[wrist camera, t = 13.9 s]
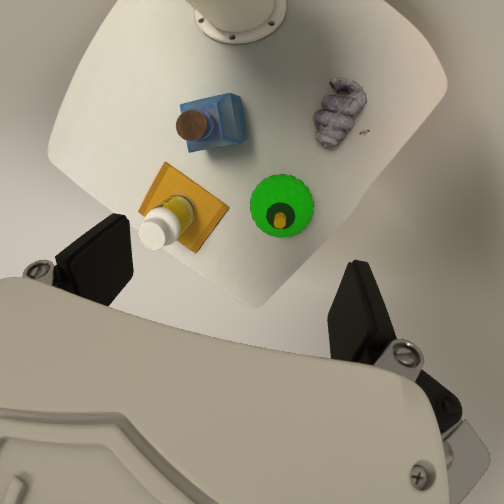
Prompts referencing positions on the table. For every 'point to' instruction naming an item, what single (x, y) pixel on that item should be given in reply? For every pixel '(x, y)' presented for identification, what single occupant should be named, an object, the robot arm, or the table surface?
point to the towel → (204, 202)
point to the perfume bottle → (212, 122)
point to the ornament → (281, 206)
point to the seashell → (338, 111)
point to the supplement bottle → (166, 222)
